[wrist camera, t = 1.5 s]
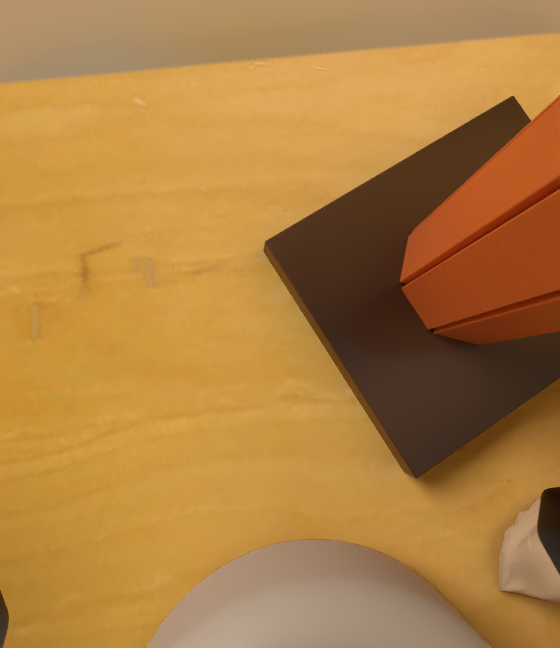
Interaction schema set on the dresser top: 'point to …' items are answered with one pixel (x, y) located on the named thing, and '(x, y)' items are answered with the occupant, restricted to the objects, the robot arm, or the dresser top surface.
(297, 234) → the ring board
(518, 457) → the dresser top surface
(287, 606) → the fat ring
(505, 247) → the octagonal orange vase
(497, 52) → the dresser top surface
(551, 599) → the decorative ornament
